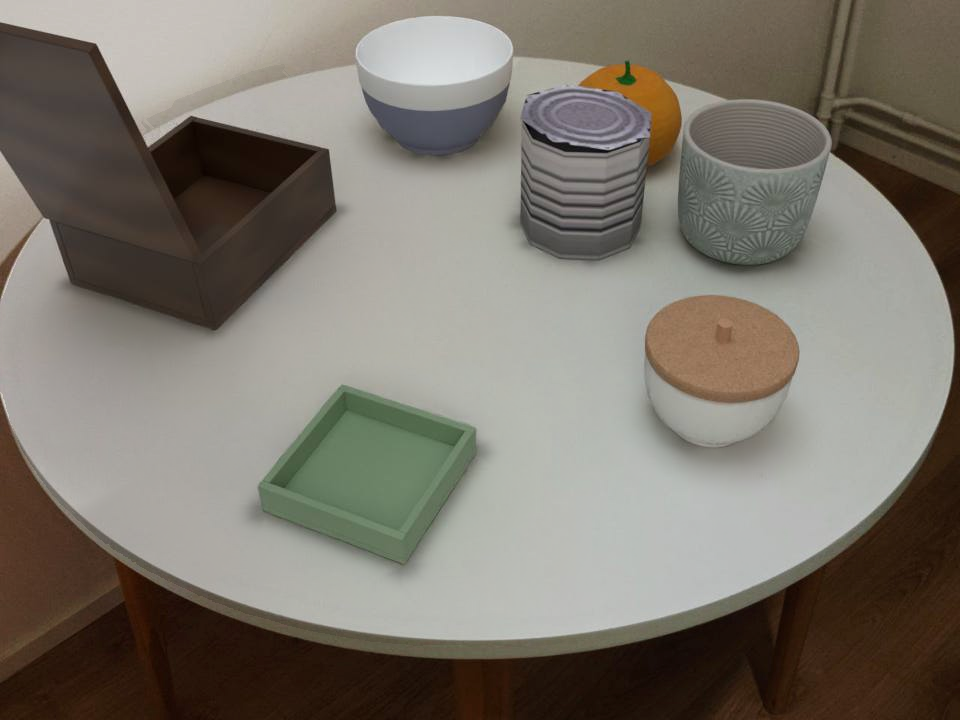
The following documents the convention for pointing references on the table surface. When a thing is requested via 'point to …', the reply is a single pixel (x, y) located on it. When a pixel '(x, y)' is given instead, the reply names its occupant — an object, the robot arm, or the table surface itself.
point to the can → (582, 171)
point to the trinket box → (718, 368)
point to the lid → (82, 144)
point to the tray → (369, 472)
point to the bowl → (435, 80)
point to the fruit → (644, 102)
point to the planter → (750, 179)
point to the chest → (213, 222)
